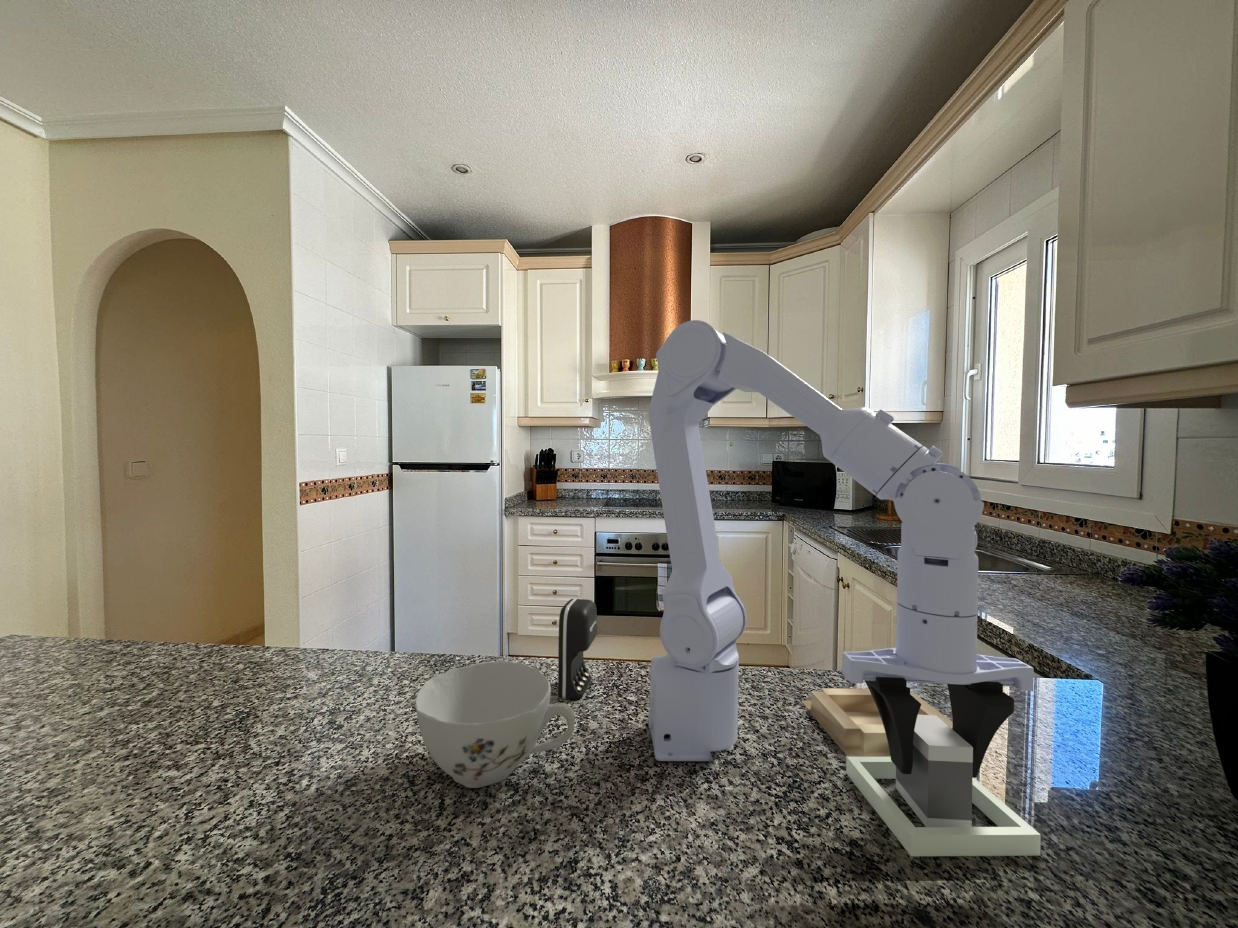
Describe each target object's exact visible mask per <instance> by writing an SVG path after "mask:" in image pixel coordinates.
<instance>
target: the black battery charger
mask: <svg viewBox="0 0 1238 928" xmlns="http://www.w3.org/2000/svg"><path fill="white" fill-rule="evenodd" d="M597 613H598V612H597V605H596V603H595V602H594V601H593V600H591V599H586V598H585V599H584V598H577V597H575V598H570V599H569V600H568V601H566V603H565V604H563V606H562V607H561V609H560V612H559V618H558V654H557V655H558V663H557V665H558V668H557V669H558V670H557V673H558V675H557V676H558V678H557V679H558V683H557V696H558V697H559V698H560V699H563V700H566V699H572V700H573V699H581V698H582V697H583V696H584V695H585V693H586V692H587V690H588V687H589V686H590V683H591V682H592V675H591V674H590V672H589V670H588V669H587V666H586V663H585V660H584V652H586V651H588V650H589V649H590V647H591V645H592V643H593V642H594V640H595V639H596V637H597V636H598V635H597V634H598V615H597Z"/></svg>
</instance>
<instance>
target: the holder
mask: <svg viewBox="0 0 1238 928" xmlns="http://www.w3.org/2000/svg"><path fill="white" fill-rule="evenodd" d="M910 694H911V695H912V696H913V697H914V698H915V699H916V700H918V701H919V702H920V703H921V707H920V710H919V712H918V715H936V716H937V717H938V718H940V719H941V720H942V721H943V722H944V723H945V724H947V725H948V726H949V727H950V728H951V729H952V727H953V722H952V719H950V718H948V717H947V716H946V715H944V714H943V713H942V712H940V711H939V710H938V709H936V708H935V707H933V706H932V705H931V704H929V703H928V702H926V701H925V699H922V698H921V697H920V696H918V695H917V693H915V692H913V691H910ZM801 703H802V704H803V706H805V708H806V709H807V710H808V711H809V713H810V714H811V715H812V716H813V718H815V719H816V721H817V722H818V723H819V725H820V726H821V727H822V728H823V729H824V730H825V731H826V733H827V734H828V735H829V736H830V738H831V739H832V740H833V741H834V742H835V744H836V745H837V747H838V748H840V750H841V751H842V752H843V753H844V755H845V756H846V758H847V757H891V756H890V750H889V745H888V741H887V736H886V733H885V729H884V726H883V722H882V719H881V716H880V714H879V711H878V708H877V706H876V704H875V701H874V699H873V697H872V695H871V692H870V690H869V688H835V687H834V688H833V687H832V688H823V687H822V688H821V691H816V690H815V691H811V692H810V700H801Z"/></svg>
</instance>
